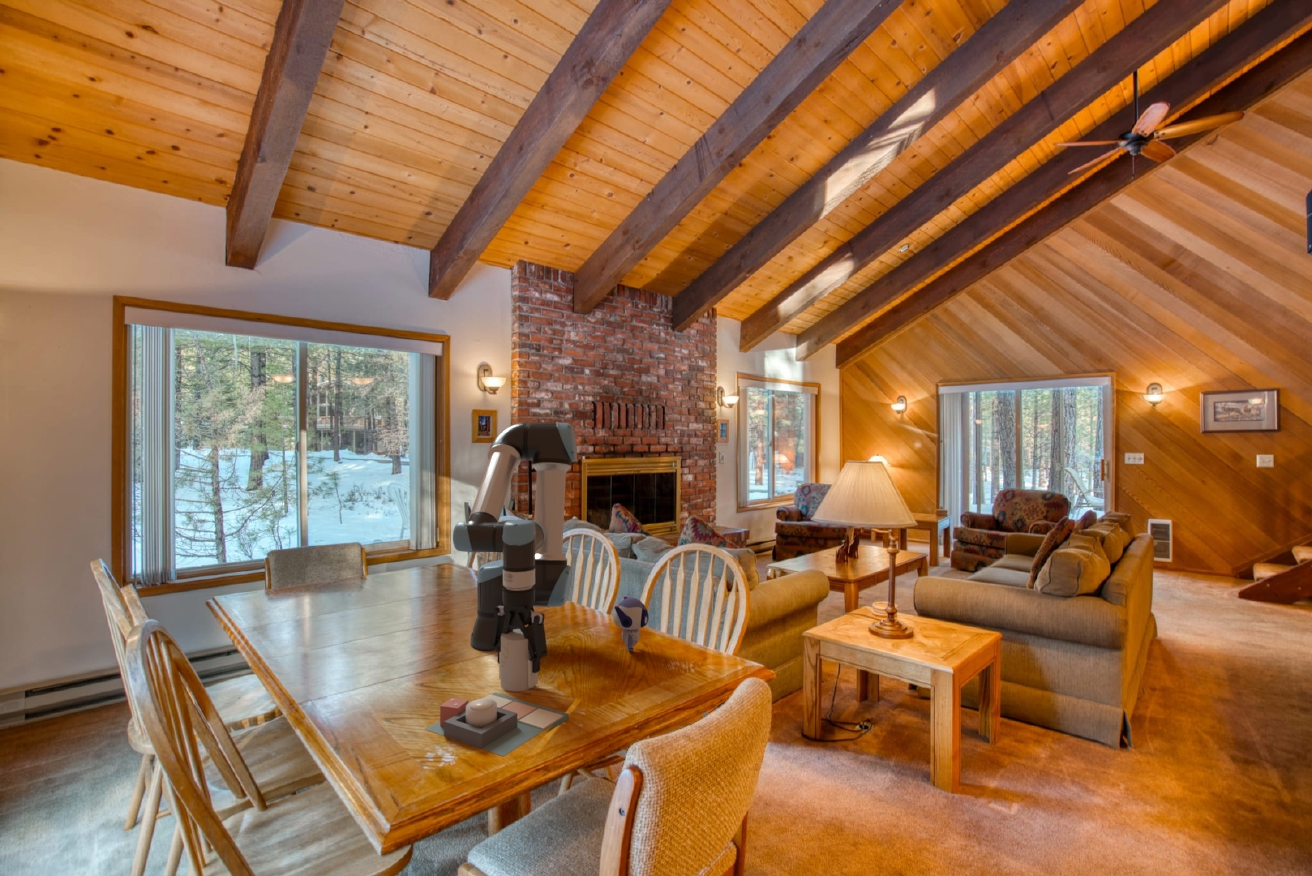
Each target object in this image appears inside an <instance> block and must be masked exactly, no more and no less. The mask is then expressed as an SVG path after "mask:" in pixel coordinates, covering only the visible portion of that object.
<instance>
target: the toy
mask: <svg viewBox="0 0 1312 876" xmlns="http://www.w3.org/2000/svg"><path fill="white" fill-rule="evenodd" d="M612 618H613V623H614V624H615V626H617V627H618V628H620V629H622V631H621V638H622V641H623V643H624V647H625V648H626V649H627V651H628V652H630V653H631V652H633V651H634V647H635V646H636V644H637V643H638V642H639V640H640V636H641V633H640V629H642V628H644V627H646V625H647V624H648V622H649V618H650V617H649V611H648V609H647V607H646V605H645V604H644V603H643V602H642V601H641V600H640V599H638V598H636V597H628V596H623V599H622V600H621V601H620V602H619V603H618V605H615V606H614V611H613V617H612Z"/></svg>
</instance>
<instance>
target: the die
mask: <svg viewBox="0 0 1312 876" xmlns="http://www.w3.org/2000/svg"><path fill="white" fill-rule="evenodd" d="M468 703H469V699H465V698H455V697H451V698H449V699H448V700H446V701H445V702H443V704H440V706H439V711H440V712H439V721H440V726H444V721H446V720H448V719H450V718H452V717H454V716H456V715H457V714H459V713H461V712H463V711H465V710H466V705H467V704H468Z"/></svg>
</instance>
